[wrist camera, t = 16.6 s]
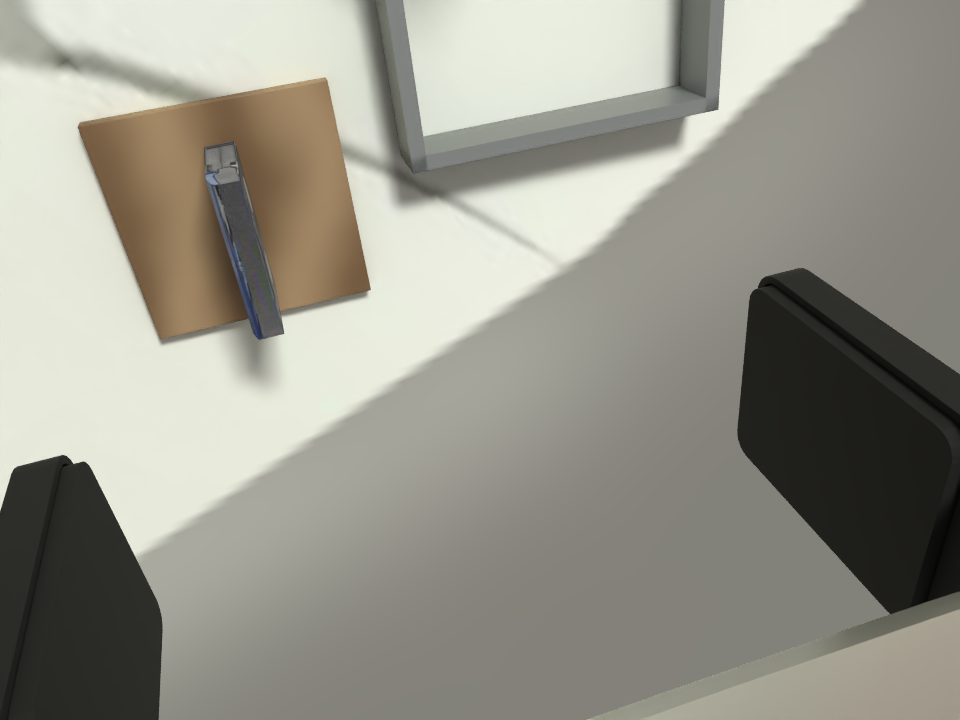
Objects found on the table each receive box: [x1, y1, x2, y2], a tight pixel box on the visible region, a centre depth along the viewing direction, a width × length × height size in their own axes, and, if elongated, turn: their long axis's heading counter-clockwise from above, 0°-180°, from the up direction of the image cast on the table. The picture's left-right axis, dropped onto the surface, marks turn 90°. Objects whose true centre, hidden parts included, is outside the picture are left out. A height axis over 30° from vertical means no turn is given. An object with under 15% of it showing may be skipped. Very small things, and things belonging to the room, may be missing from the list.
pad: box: [78, 78, 371, 339], centre depth 43 cm, size 12×12×1 cm
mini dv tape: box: [204, 141, 284, 340], centre depth 40 cm, size 8×2×6 cm, turn 6°
